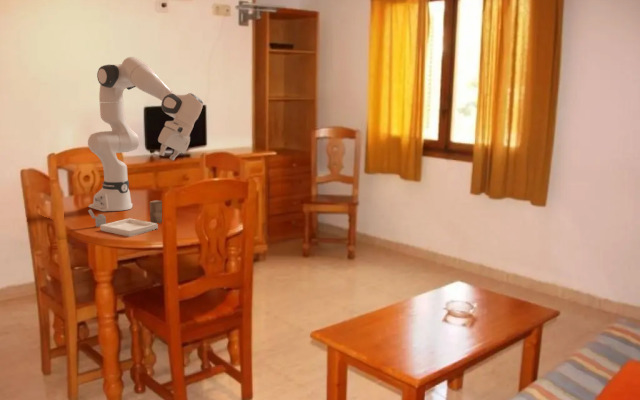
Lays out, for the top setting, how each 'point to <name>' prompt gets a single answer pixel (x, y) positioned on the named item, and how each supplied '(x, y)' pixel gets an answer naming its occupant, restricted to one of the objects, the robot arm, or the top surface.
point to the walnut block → (156, 211)
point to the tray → (129, 227)
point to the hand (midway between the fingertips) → (166, 157)
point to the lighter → (98, 218)
